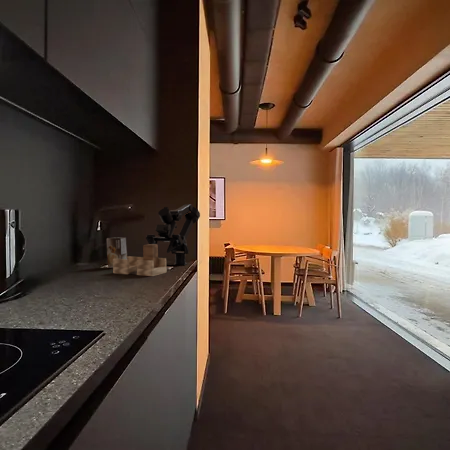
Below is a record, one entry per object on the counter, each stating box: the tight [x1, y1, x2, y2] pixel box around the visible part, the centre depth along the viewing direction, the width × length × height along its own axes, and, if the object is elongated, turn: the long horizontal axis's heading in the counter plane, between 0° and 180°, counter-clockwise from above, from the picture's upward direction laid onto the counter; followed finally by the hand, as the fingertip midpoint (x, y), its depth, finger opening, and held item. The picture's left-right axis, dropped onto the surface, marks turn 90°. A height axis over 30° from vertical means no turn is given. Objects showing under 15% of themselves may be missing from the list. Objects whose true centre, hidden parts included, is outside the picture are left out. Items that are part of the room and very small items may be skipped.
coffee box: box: [106, 237, 128, 269], centre depth 215 cm, size 9×6×16 cm
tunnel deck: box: [112, 255, 168, 277], centre depth 194 cm, size 24×11×7 cm, turn 64°
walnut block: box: [142, 243, 159, 268], centre depth 190 cm, size 5×5×11 cm
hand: (159, 252), depth 198 cm, fingers open, 9 cm apart
